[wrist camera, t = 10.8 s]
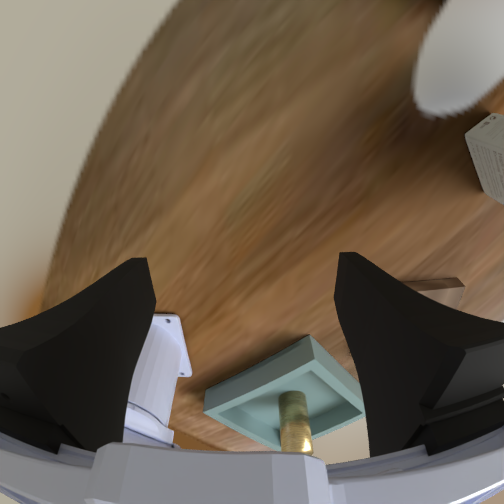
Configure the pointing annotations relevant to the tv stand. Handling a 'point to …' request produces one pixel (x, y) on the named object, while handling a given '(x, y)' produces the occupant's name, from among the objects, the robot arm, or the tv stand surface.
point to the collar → (440, 290)
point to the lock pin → (294, 423)
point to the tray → (283, 380)
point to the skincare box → (489, 154)
